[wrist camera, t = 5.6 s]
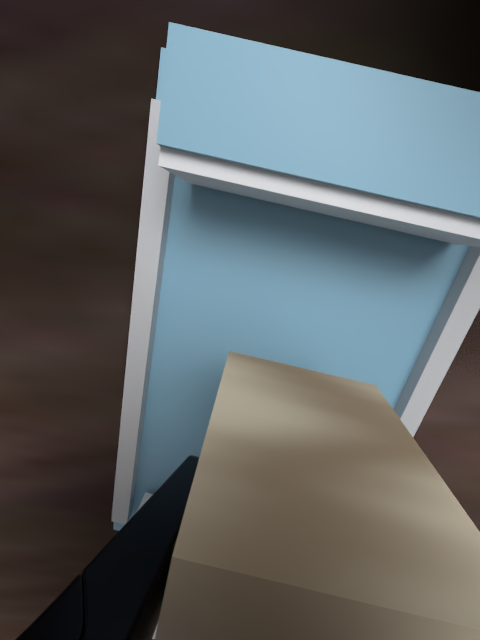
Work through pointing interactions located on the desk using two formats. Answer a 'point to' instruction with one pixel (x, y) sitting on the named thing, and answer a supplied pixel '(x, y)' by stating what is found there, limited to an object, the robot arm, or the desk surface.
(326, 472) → the beech block
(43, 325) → the desk surface
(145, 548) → the robot arm
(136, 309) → the vise base
